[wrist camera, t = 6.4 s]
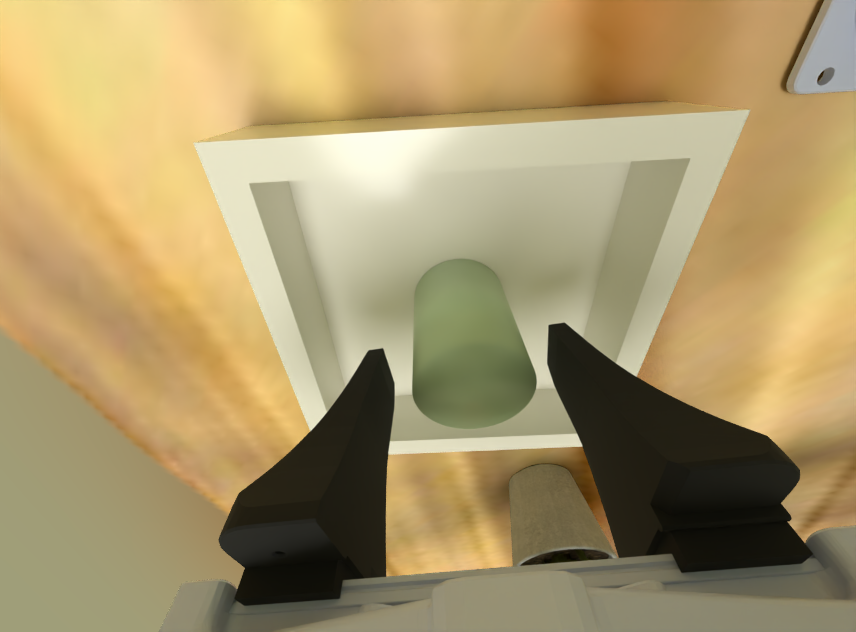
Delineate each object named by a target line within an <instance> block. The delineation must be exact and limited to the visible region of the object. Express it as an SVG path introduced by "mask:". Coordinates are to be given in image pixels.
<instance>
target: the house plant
mask: <svg viewBox="0 0 856 632" xmlns="http://www.w3.org/2000/svg"><path fill="white" fill-rule="evenodd" d="M509 497H510V517H511V537H512V558H513V567H514V566H526V565H539V564H551V563H564V562H576V561H588V560H601V559H613V558H617V556H616V554H615V552H614V551H613V549H612V547H611V545H610V543H609V542H608V540H607V538H606V536H605V534H604V533H603V531H602V529H601V527H600V525H599V524H598V522H597V520H596V518H595V516H594V515H593V513H592V511H591V509H590V508H589V506H588V504H587V502H586V500H585V499H584V497H583V495H582V493H581V491H580V490H579V488H578V486H577V484H576V482H575V481H574V479H573V477H572V475H571V474H570V472H569V471H568V470H567V469H565V468H564V467H561V466H558V465H553V464H539V465H534V466H530V467H528V468H525V469H523V470H521V471H519V472H518V473H516V474H515V475H513V476H512V478H511V479H510V481H509Z"/></svg>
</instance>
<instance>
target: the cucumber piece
mask: <svg viewBox="0 0 856 632" xmlns="http://www.w3.org/2000/svg"><path fill="white" fill-rule="evenodd" d="M536 385H537V378H536V373H535V370H534V367H533V365H532V362H531V360H530V357H529V355H528V352H527V349H526V347H525V344H524V342H523V339H522V337H521V334H520V331H519V329H518V326H517V324H516V321H515V319H514V316H513V313H512V311H511V308H510V306H509V303H508V301H507V298H506V295H505V293H504V290H503V288H502V285H501V282H500V280H499V278H498V277H497V275H496V274H495V273H494V272H493V271H492V270H491V269H490V268H489V267H487V266H486V265H484V264H482V263H480V262H477V261H474V260H469V259H454V260H449V261H445V262H442V263H440V264H438V265H436V266H434V267H433V268H431V269H430V270H429V271H427V272H426V273H425V274H424V275H423V277H422V278H421V279H420V281H419V282H418V285H417V287H416V290H415V295H414V330H413V375H412V395H413V399H414V402H415V404H416V406H417V407H418V409H419V410H420V411H421V412H422V413H423V414H424V415H425V416H426V417H428V418H429V419H431V420H432V421H434V422H436V423H439V424H441V425H444V426H448V427H452V428H459V429H477V428H484V427H489V426H493V425H496V424H499V423H502V422H504V421H506V420H508V419H510V418H512V417H514V416H515V415H517V414H518V413H519V412H521V411H522V410H523V409H524V408H525V407H526V406H527V405H528V404H529V402H530V401H531V399H532V398H533V395H534V393H535V390H536Z"/></svg>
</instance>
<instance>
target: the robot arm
mask: <svg viewBox="0 0 856 632" xmlns="http://www.w3.org/2000/svg"><path fill="white" fill-rule="evenodd" d="M822 71H824V73H823V76H822V78H821V79H820V81H818V82H817V79H818V76H819V75H820V74H821V72H822ZM786 85H787V90H788V91H789V93H793V94H814V93H830V92H847V91H856V0H824V2H823V4H822V6H821V8H820V11H819V13H818V15H817V17H816V19H815V21H814V24H813V26H812V28H811V30H810V32H809V34H808V37H807V39H806V41H805V43H804V45H803V47H802V50H801V52H800V54H799V56H798V58H797V60H796V63H795V65H794V67H793V69H792V71H791V73H790V76H789V78H788V81H787V84H786ZM547 365H548V368H549V371H550V374H551V378H552V380H553V383H554V386H555V388H556V391H557V393H558V395H559V397H560V399H561V401H562V403H563V405H564V407H565V410H566V412H567V414H568V416H569V418H570V420H571V422H572V424H573V426H574V428H575V430H576V432H577V435H578V437H579V439H580V442H581V444H582V446H583V449H584V452H585V455H586V457H587V460H588V463H589V466H590V468H591V471H592V474H593V477H594V480H595V483H596V486H597V489H598V492H599V495H600V498H601V501H602V504H603V507H604V510H605V513H606V517H607V520H608V523H609V526H610V529H611V533H612V536H613V539H614V543H615V546H616V550H617V553H618V556H619V558H613V559H601V560H588V561H576V562H564V563H551V564H539V565H526V566H514V567H501V568H489V569H477V570H464V571H452V572H439V573H427V574H415V575H402V576H390V577H386V478H387V461H388V452H389V445H390V437H391V430H392V422H393V415H394V406H395V383H394V380H393V377H392V374H391V370H390V367H389V364H388V361H387V358H386V355H385V352H384V349H383V348H381V349H373V350H368V352H367V353H366V355H365V356H364V358H363V360H362V361H361V363H360V365H359V366H358V368H357V370H356V371H355V373H354V374H353V376H352V378H351V379H350V381H349V382H348V384H347V385H346V387H345V388H344V390H343V391H342V393H341V394H340V395H339V397H338V398H337V400H336V401H335V402H334V404H333V405H332V406H331V408H330V409H329V410H328V412H327V413H326V414H325V415H324V417H323V418H322V419H321V420H320V421H319V422H318V424H317V425H316V426H315V427H314V428H313V429H312V430H311V431H310V432H309V433H308V434H307V435H306V436H305V437H304V438H303V440H302V441H301V442H300V443H299V444H298V445H297V446H296V447H295V448H294V449H292V450H291V451H290V452H289V453H288V454H287V455H286V456H285V457H284V458H283V459H281V460H280V461H279V462H278V463H277V464H276V465H274V466H273V467H272V468H271V469H270V470H268V471H267V472H266V473H265V474H263V475H262V476H261V477H260V478H258V479H257V480H256V481H254V482H253V483H252V484H250V485H249V486H248V487H247V488H245V489H244V490H242V491H241V492H240V493H239V494H238V496H237V498H236V500H235V502H234V504H233V506H232V509H231V511H230V513H229V516H228V519H227V521H226V523H225V525H224V528H223V530H222V532H221V535H220V537H219V543H220V546H221V548H222V549H223V550H224V551H225V552H226V553H227V554H228V555H230V556H231V557H232V558H233V559H235V560H236V561H237V562H238V563H240V564H241V565H242V566H243V567H245V570H244V572H243V575H242V578H241V581H240V584H239V586H238V589H236V587H235V586H234V585H233V584H232V583H230V582H228V581H226V580H221V579H210V580H198V581H186V582H184V583H182V584H181V586H180V588H179V590H178V592H177V594H176V596H175V599H174V601H173V603H172V605H171V607H170V609H169V611H168V613H167V616H166V618H165V620H164V622H163V624H162V626H161V629H160V630H159V632H856V525H855V526H843V527H832V528H826V529H822V530H819V531H816V532H815V533H813V534H811V535H810V536H809V537H808V539H807V540H806V543H804V542H803V541H802V539H801V538H800V537H799V536H798V534H797V533H796V532H795V531H794V530H793V528H792V527H791V526H790V525H789V523H788V522H787V521H790V520H791V515H790V514H789V513H788V512H787V510H786V509H785V508H784V507H783V506H782V504H781V502H782V501H783V500H784V499H785V498H786V497H787V495H788V494H789V493H790V492H791V491H792V490H793V488H794V487H795V486H796V484H797V483H798V481H799V479H800V470H799V468H798V467H797V466H796V465H795V464H794V463H793V462H792V460H791V459H790V458H789V457H788V456H787V455H786V454H785V453H784V452H783V451H782V450H781V449H780V448H779V447H778V446H777V445H776V444H775V443H774V442H773V441H772V440H771V439H770V438H769V437H768V436H766V435H763V434H760V433H758V432H755V431H752V430H749V429H747V428H744V427H741V426H739V425H736V424H733V423H730V422H728V421H725V420H723V419H720V418H718V417H715V416H713V415H711V414H708V413H706V412H704V411H701V410H699V409H697V408H695V407H692V406H690V405H688V404H686V403H684V402H682V401H680V400H678V399H676V398H674V397H672V396H670V395H668V394H666V393H664V392H662V391H660V390H658V389H656V388H655V387H653V386H651V385H649V384H648V383H646V382H644V381H643V380H641V379H639V378H638V377H636V376H634V375H633V374H631V373H630V372H628V371H627V370H625V369H624V368H622V367H621V366H619V365H618V364H616V363H615V362H614V361H612V360H611V359H609V358H608V357H607V356H605V355H604V354H603V353H602V352H600V351H599V350H598V349H596V348H595V347H594V346H593V345H591V344H590V343H589V342H588V341H586V340H585V339H584V338H583V337H582V336H580V335H579V334H578V333H577V332H576V331H574V330H573V329H572V328H571V327H570V326H568V325H567V324H566V323H565V322H564V323H557V324H550V325H548V349H547Z"/></svg>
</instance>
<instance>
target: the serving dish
mask: <svg viewBox="0 0 856 632" xmlns="http://www.w3.org/2000/svg"><path fill="white" fill-rule="evenodd" d="M749 112H750V110H749V109H739V108H730V107H721V106H711V105H702V104H693V103H683V102H674V101H656V102H639V103H623V104H606V105H590V106H573V107H556V108H540V109H523V110H507V111H490V112H473V113H457V114H440V115H424V116H407V117H390V118H374V119H357V120H341V121H324V122H307V123H291V124H274V125H258V126H248V127H245V128H241V129H238V130H235V131H231V132H228V133H225V134H221V135H218V136H215V137H211V138H208V139H205V140H201V141H198V142H194V146H195V148H196V151H197V153H198V156H199V158H200V160H201V163H202V165H203V168H204V170H205V173H206V175H207V178H208V180H209V183H210V185H211V188H212V190H213V192H214V195H215V197H216V200H217V202H218V205H219V207H220V210H221V212H222V215H223V217H224V220H225V222H226V224H227V227H228V229H229V232H230V234H231V237H232V239H233V242H234V244H235V247H236V249H237V252H238V254H239V257H240V259H241V261H242V264H243V266H244V269H245V271H246V274H247V276H248V279H249V281H250V284H251V286H252V289H253V291H254V293H255V296H256V298H257V301H258V303H259V306H260V308H261V311H262V313H263V316H264V318H265V321H266V323H267V325H268V328H269V330H270V333H271V335H272V338H273V340H274V343H275V345H276V348H277V350H278V353H279V355H280V358H281V360H282V362H283V365H284V367H285V370H286V372H287V375H288V377H289V380H290V382H291V385H292V387H293V390H294V392H295V394H296V397H297V399H298V402H299V404H300V407H301V409H302V412H303V414H304V417H305V419H306V422H307V424H308V426H309V429H310V431H311V430H312V429H313V428H314V427H315V426H316V425H317V424H318V422H319V421H320V420H321V419H322V418H323V417H324V415H325V414H326V413H327V412H328V410H329V409H330V408H331V406H332V405H333V404H334V402H335V401H336V400H337V398H338V397H339V395H340V394H341V393H342V391H343V390H344V388H345V387H346V385H347V384H348V382H349V381H350V379H351V378H352V376H353V374H354V373H355V371H356V370H357V368H358V366H359V365H360V363H361V361H362V360H363V358H364V356H365V355H366V353H367V352H368V350H373V349H381V348H383V349H384V352H385V355H386V358H387V361H388V364H389V367H390V370H391V374H392V377H393V380H394V383H395V406H394V415H393V422H392V430H391V437H390V445H389V452H388V454H412V453H437V452H461V451H485V450H509V449H533V448H557V447H582V444H581V442H580V439H579V437H578V435H577V432H576V430H575V428H574V426H573V424H572V422H571V420H570V418H569V416H568V414H567V412H566V410H565V407H564V405H563V403H562V401H561V399H560V397H559V395H558V393H557V391H556V388H555V386H554V383H553V380H552V378H551V374H550V371H549V368H548V365H547V349H548V325H550V324H557V323H564V322H565V323H566V324H567V325H568V326H570V327H571V328H572V329H573V330H574V331H576V332H577V333H578V334H579V335H580V336H582V337H583V338H584V339H585V340H586V341H588V342H589V343H590V344H591V345H593V346H594V347H595V348H596V349H598V350H599V351H600V352H602V353H603V354H604V355H605V356H607V357H608V358H609V359H611V360H612V361H614V362H615V363H616V364H618V365H619V366H621V367H622V368H624V369H625V370H627V371H628V372H630V373H631V374H633V375H634V376H636V377H637V374H638V372H639V370H640V367H641V365H642V363H643V360H644V358H645V356H646V353H647V351H648V349H649V346H650V344H651V341H652V339H653V337H654V334H655V332H656V330H657V327H658V325H659V323H660V320H661V318H662V316H663V313H664V311H665V309H666V306H667V304H668V302H669V299H670V297H671V295H672V292H673V290H674V288H675V285H676V283H677V281H678V278H679V276H680V274H681V271H682V269H683V267H684V264H685V262H686V260H687V257H688V255H689V253H690V250H691V248H692V246H693V243H694V241H695V239H696V236H697V234H698V231H699V229H700V227H701V224H702V222H703V220H704V217H705V215H706V213H707V210H708V208H709V206H710V203H711V201H712V199H713V196H714V194H715V192H716V189H717V187H718V185H719V182H720V180H721V178H722V175H723V173H724V171H725V168H726V166H727V164H728V161H729V159H730V157H731V154H732V152H733V150H734V147H735V145H736V143H737V140H738V138H739V136H740V133H741V131H742V128H743V126H744V124H745V121H746V119H747V117H748V114H749ZM454 259H469V260H474V261H477V262H480V263H482V264H484V265H486V266H487V267H489V268H490V269H491V270H492V271H493V272H494V273H495V274H496V275H497V277H498V278H499V280H500V282H501V285H502V288H503V290H504V293H505V295H506V298H507V301H508V303H509V306H510V308H511V311H512V313H513V316H514V319H515V321H516V324H517V326H518V329H519V331H520V334H521V337H522V339H523V342H524V344H525V347H526V349H527V352H528V355H529V357H530V360H531V362H532V365H533V367H534V370H535V373H536V378H537V385H536V390H535V393H534V395H533V398H532V399H531V401H530V402H529V404H528V405H527V406H526V407H525V408H524V409H523V410H522V411H521V412H519V413H518V414H517V415H515V416H514V417H512V418H510V419H508V420H506V421H504V422H502V423H499V424H496V425H493V426H489V427H484V428H477V429H459V428H452V427H448V426H444V425H441V424H439V423H436V422H434V421H432V420H431V419H429V418H428V417H426V416H425V415H424V414H423V413H422V412H421V411H420V410H419V409H418V407H417V406H416V404H415V402H414V399H413V395H412V375H413V330H414V295H415V290H416V287H417V285H418V282H419V281H420V279H421V278H422V277H423V275H424V274H425V273H426V272H427V271H429V270H430V269H431V268H433V267H434V266H436V265H438V264H440V263H442V262H445V261H449V260H454Z"/></svg>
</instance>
